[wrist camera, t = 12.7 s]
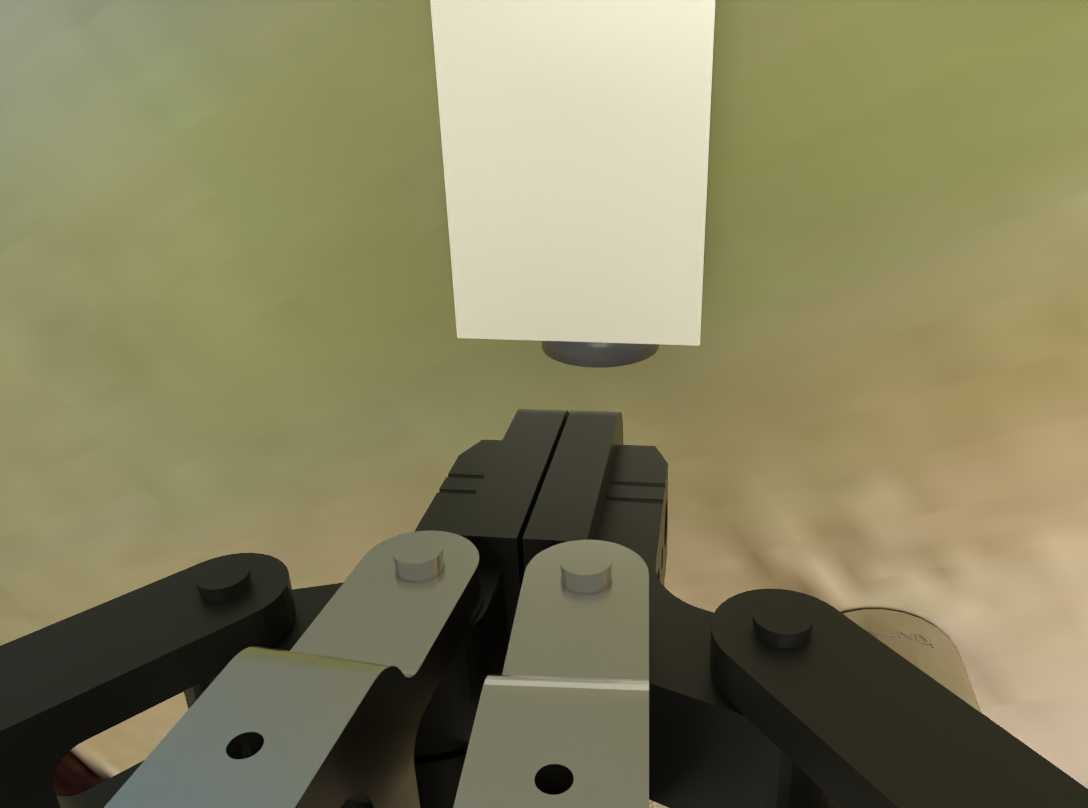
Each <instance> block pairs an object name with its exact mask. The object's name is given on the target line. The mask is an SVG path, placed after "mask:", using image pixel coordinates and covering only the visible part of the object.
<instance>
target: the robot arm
mask: <svg viewBox="0 0 1088 808" xmlns="http://www.w3.org/2000/svg"><path fill="white" fill-rule="evenodd" d="M667 503H668V463H667V462H666V461H665V459H664V458H663V456H662V455H661V454H660V452H659V451H658V450H657V448H656V447H655V446H636V445H623V422H622V414H621V412H600V411H571V412H570V413H569V411H563V410H531V409H519V410H518V411H517V413H516V415H515V417H514V419H513V421H512V423H511V424H510V426H509V428H508V430H507V432H506V434H505V436H504V438H503V440H502V441H500V440H481V441H480V442H478V443H477V444H475V445H474V446H472V447H471V448H469V449H468V450H466V451H465V452H463V453H462V454H460V455H459V457H458V458H457V460H456V462H455V463H454V465H453V467H452V469H451V470H450V472H449V474H448V477H446V479H445V480H444V482H443V484H442V486H441V487H440V492H439V493H437V494H436V496H435V497H434V499H433V501H432V503H431V504H430V506H429V508H428V509H427V511H426V513H425V514H424V516H423V518H422V520H421V521H420V523H419V525H418V526H417V528H416V530H415V532H410V533H406V534H402V535H398V536H395V537H392V538H390V539H388V540H386V541H383V542H382V543H380V544H378V545H376V546H375V547H374V548H372V549H371V550H370V551H369V552H368V553H367V554H366V555H365V556H364V557H363V559H362V560H361V561H360V562H359V564H358V565H357V566H356V567H355V569H354V570H353V571H352V573H351V574H350V575H349V576H348V578H347V579H346V580H345V581H344V582H343V583H338V584H331V585H324V586H316V587H309V588H302V589H294V590H292V587H291V582H290V577H289V572H288V570H287V567H286V566H285V565H284V564H283V562H281V561H280V560H278V559H277V558H274V557H272V556H269V555H264V554H257V553H239V554H231V555H226V556H221V557H217V558H214V559H210V560H208V561H205V562H202V563H200V564H197V565H195V566H192V567H190V568H188V569H185V570H183V571H180V572H178V573H175V574H173V575H171V576H168V577H166V578H163V579H161V580H159V581H156V582H154V583H151V584H149V585H146V586H144V587H142V588H139V589H137V590H134V591H132V592H130V593H127V594H125V595H122V596H120V597H117V598H115V599H113V600H110V601H108V602H105V603H103V604H101V605H98V606H96V607H93V608H91V609H88V610H86V611H84V612H81V613H79V614H76V615H74V616H72V617H69V618H67V619H64V620H62V621H60V622H57V623H55V624H52V625H50V626H47V627H45V628H43V629H40V630H38V631H35V632H33V633H31V634H28V635H26V636H23V637H21V638H18V639H16V640H14V641H11V642H9V643H6V644H4V645H2V646H0V808H649V800H651V801H654V802H656V803H659V804H661V805H663V806H666V807H668V808H1088V789H1087V788H1085V787H1084V786H1083V785H1081V784H1080V783H1078V782H1077V781H1076V780H1074V779H1073V778H1071V777H1070V776H1069V775H1067V774H1066V773H1064V772H1063V771H1062V770H1060V769H1059V768H1057V767H1056V766H1055V765H1053V764H1052V763H1050V762H1049V761H1048V760H1046V759H1045V758H1043V757H1042V756H1041V755H1039V754H1038V753H1036V752H1035V751H1034V750H1032V749H1031V748H1029V747H1028V746H1027V745H1025V744H1024V743H1022V742H1021V741H1020V740H1018V739H1017V738H1015V737H1014V736H1013V735H1011V734H1010V733H1008V732H1007V731H1006V730H1004V729H1003V728H1002V727H1000V726H999V725H997V724H996V723H995V722H993V721H992V720H990V719H989V718H988V717H986V716H985V715H983V714H982V713H981V710H980V708H979V705H978V702H977V700H976V697H975V694H974V692H973V689H972V686H971V684H970V681H969V678H968V676H967V673H966V670H965V667H964V665H963V662H962V659H961V657H960V654H959V651H958V650H957V649H956V647H955V646H954V644H953V643H952V641H951V640H950V639H949V638H948V637H947V636H946V635H945V634H944V633H943V632H941V631H940V630H939V629H938V628H937V627H935V626H933V625H932V624H930V623H928V622H926V621H925V620H923V619H921V618H918V617H915V616H912V615H909V614H906V613H903V612H897V611H891V610H885V609H864V610H858V611H852V612H846V613H843V614H842V613H841V612H839V611H838V610H837V609H835V608H834V607H832V606H830V605H829V604H827V603H826V602H824V601H822V600H819V599H817V598H815V597H812V596H809V595H806V594H804V593H799V592H795V591H790V590H782V589H758V590H752V591H747V592H744V593H740V594H737V595H735V596H733V597H731V598H729V599H727V600H726V601H725V602H723V603H722V604H721V605H720V606H719V607H718V608H717V609H716V611H715V613H713V612H709V611H706V610H703V609H700V608H697V607H694V606H692V605H690V604H687V603H685V602H683V601H681V600H680V599H678V598H677V597H675V596H674V595H672V594H671V593H670V592H669V591H668V590H667V589H666V588H665V587H664V577H665V570H666V560H667ZM183 691H184V694H185V697H186V701H187V705H188V709H189V710H188V711H187V712H186V713H185V714H184V715H183V717H182V718H181V719H180V720H179V721H178V722H177V723H176V725H175V726H174V727H173V728H172V729H171V730H170V732H169V733H168V734H167V735H166V736H165V737H164V739H163V740H162V741H161V742H160V743H159V744H158V745H157V747H156V748H155V749H154V750H153V751H152V752H151V754H150V755H149V756H148V757H147V758H146V759H145V760H144V761H142V762H140V763H138V764H136V765H134V766H133V767H131V768H129V769H127V770H125V771H123V772H121V773H119V774H117V775H116V776H114V777H112V778H110V779H108V780H106V781H104V782H102V783H100V784H98V785H97V786H95V787H93V788H91V789H89V790H87V791H85V792H83V793H81V794H78V795H75V796H69V797H60V796H56V794H55V791H54V787H53V776H54V772H55V770H56V768H57V766H58V764H59V762H60V761H61V759H62V758H63V757H64V756H65V755H66V754H67V753H68V752H69V751H70V750H71V749H72V748H73V747H75V746H76V745H78V744H79V743H81V742H83V741H85V740H87V739H89V738H91V737H93V736H95V735H97V734H99V733H101V732H103V731H105V730H107V729H109V728H111V727H113V726H115V725H117V724H119V723H121V722H123V721H125V720H127V719H129V718H131V717H133V716H135V715H137V714H139V713H141V712H143V711H145V710H147V709H149V708H151V707H153V706H155V705H157V704H159V703H161V702H163V701H165V700H167V699H169V698H171V697H173V696H175V695H177V694H179V693H181V692H183Z"/></svg>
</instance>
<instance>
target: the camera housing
mask: <svg viewBox="0 0 1088 808" xmlns="http://www.w3.org/2000/svg"><path fill="white" fill-rule="evenodd" d="M430 2H431V15H432V27H433V40H434V52H435V65H436V77H437V90H438V102H439V115H440V127H441V140H442V152H443V165H444V177H445V190H446V202H447V215H448V227H449V240H450V252H451V265H452V277H453V290H454V302H455V315H456V327H457V338H475V339H507V340H539V341H542V349H543V351H544V352H545V354H546V355H548V356H549V357H551V358H552V359H554V360H557V361H559V362H562V363H566V364H570V365H575V366H583V367H615V366H623V365H628V364H633V363H636V362H639V361H642V360H645V359H647V358H649V357H650V356H652V355H653V354H655V353H656V351H657V350H658V348H659V344H666V345H698V346H700V332H701V310H702V287H703V265H704V242H705V220H706V198H707V175H708V153H709V130H710V108H711V85H712V63H713V41H714V18H715V0H430Z"/></svg>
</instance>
